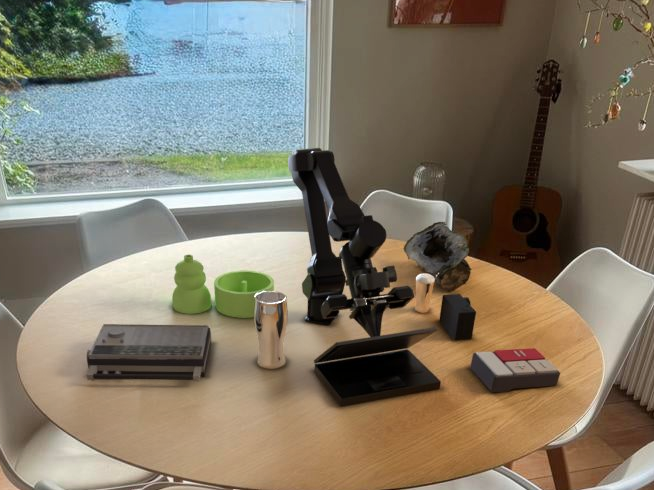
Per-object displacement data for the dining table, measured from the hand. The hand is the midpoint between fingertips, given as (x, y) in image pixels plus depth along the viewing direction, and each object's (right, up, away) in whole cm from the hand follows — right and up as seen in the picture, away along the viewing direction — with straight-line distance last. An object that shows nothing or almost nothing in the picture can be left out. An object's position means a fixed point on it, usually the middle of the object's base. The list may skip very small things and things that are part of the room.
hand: (377, 341), depth 148 cm
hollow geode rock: (+21, +25, +49) cm, 59 cm away
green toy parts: (-35, +14, +33) cm, 50 cm away
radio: (-48, -3, +9) cm, 49 cm away
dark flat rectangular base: (0, -7, +4) cm, 9 cm away
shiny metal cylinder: (+15, +13, +33) cm, 39 cm away
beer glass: (-22, -3, +10) cm, 24 cm away
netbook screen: (0, -1, +2) cm, 2 cm away
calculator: (+29, -7, +7) cm, 31 cm away
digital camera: (+21, +7, +24) cm, 33 cm away
